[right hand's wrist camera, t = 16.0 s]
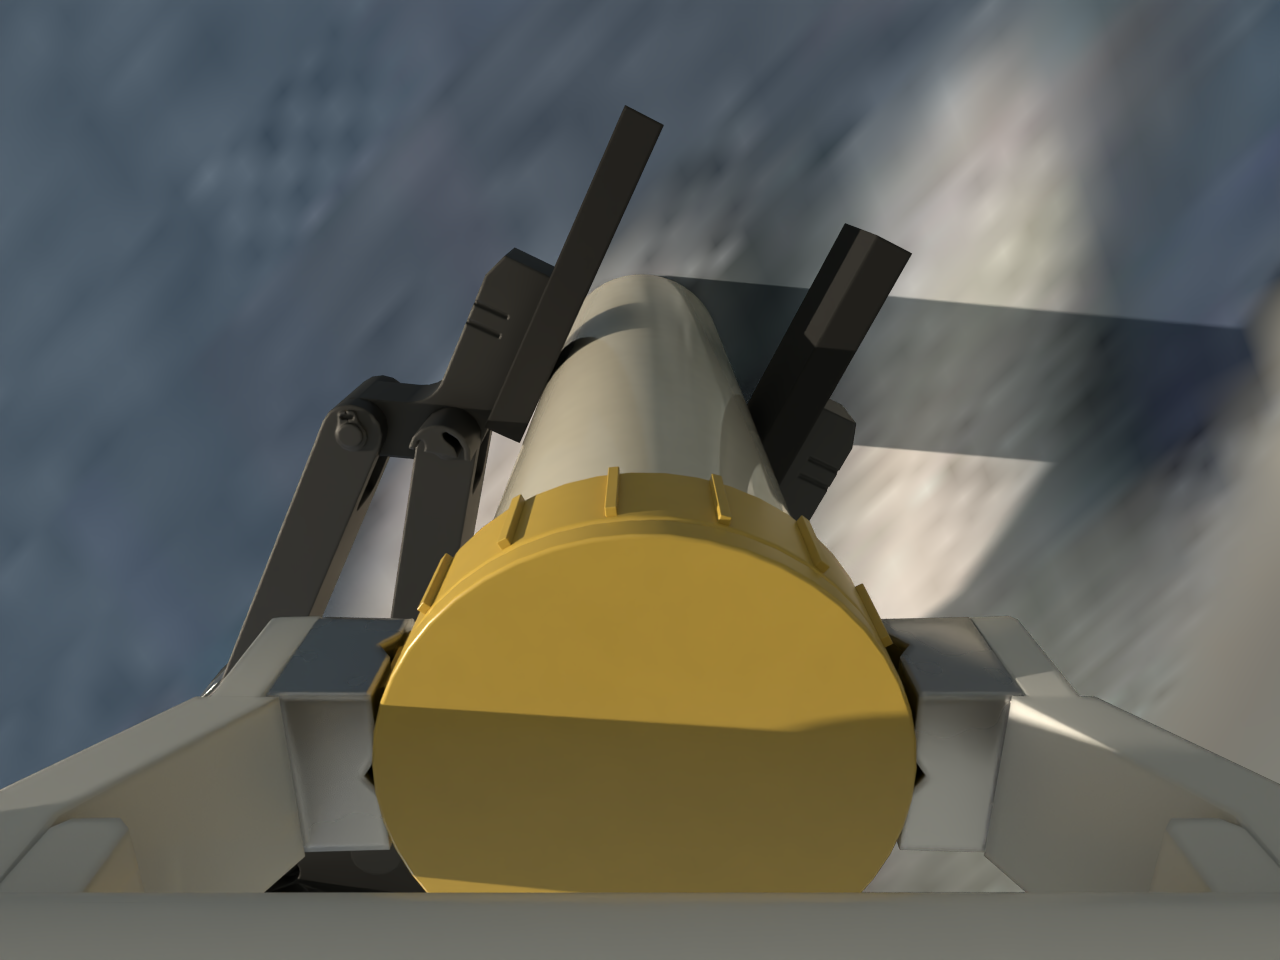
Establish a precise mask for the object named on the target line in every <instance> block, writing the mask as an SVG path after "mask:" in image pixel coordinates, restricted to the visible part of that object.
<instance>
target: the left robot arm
mask: <svg viewBox="0 0 1280 960" xmlns="http://www.w3.org/2000/svg"><path fill="white" fill-rule="evenodd" d="M663 126H664V125H663V124H661V123H659V122H657V121H655V120H653V119H651V118H649V117H647V116H645V115H643V114H641V113H639V112H637V111H636V110H634V109H632V108H630V107H628V106H626V105H625V107H624V109H623V111H622V113H621V116H620V118H619V120H618V123H617V125H616V127H615V129H614V132H613V134H612V136H611V139H610V141H609V143H608V146H607V148H606V150H605V152H604V155H603V157H602V159H601V162H600V164H599V166H598V168H597V171H596V173H595V175H594V178H593V180H592V182H591V185H590V187H589V189H588V191H587V194H586V196H585V198H584V201H583V203H582V205H581V207H580V210H579V212H578V214H577V217H576V219H575V221H574V223H573V226H572V228H571V230H570V233H569V235H568V237H567V240H566V242H565V244H564V246H563V249H562V251H561V253H560V256H559V258H558V260H557V262H556V265H555V267H554V266H552V265H550V264H548V263H546V262H544V261H542V260H540V259H538V258H535V257H533V256H531V255H529V254H527V253H525V252H523V251H521V250H519V249H517V248H514V249H512V250H511V251H510V252H509V253H508V254H506V255H505V256H504V257H503V258H502V259H501V260H500V261H499V262H498V263H497V264H496V265H495V266H494V267H493V268H492V269H491V270H490V271H489V272H488V273H487V274H486V275H485V278H484V280H483V283H482V285H481V288H480V290H479V292H478V295H477V297H476V300H475V303H474V305H473V307H472V309H471V312H470V314H469V317H468V320H467V322H466V324H465V326H464V329H463V331H462V334H461V336H460V339H459V341H458V344H457V346H456V348H455V351H454V353H453V356H452V358H451V361H450V363H449V365H448V368H447V370H446V373H445V375H444V378H443V380H441V381H439V382H437V383H434V384H430V385H415V384H405V383H400V382H398V381H397V380H396V379H394V378H391V377H387V376H384V375H382V376H374V377H371V378H370V379H368V380H366V381H365V382H363V383H362V384H361V385H360V386H359V387H357V388H356V389H355V390H354V391H353V392H352V393H350V394H349V395H348V396H347V397H346V398H345V399H344V400H342V401H341V402H340V403H339V404H338V405H337V406H335V407H334V408H333V409H332V410H331V411H330V412H329V413H328V414H327V416H326V417H325V419H324V420H323V422H322V425H321V428H320V430H319V433H318V435H317V438H316V440H315V443H314V445H313V448H312V451H311V453H310V456H309V458H308V461H307V463H306V466H305V468H304V471H303V473H302V476H301V479H300V481H299V484H298V486H297V489H296V491H295V494H294V496H293V499H292V502H291V504H290V507H289V509H288V512H287V514H286V517H285V519H284V522H283V524H282V527H281V530H280V532H279V535H278V537H277V540H276V542H275V545H274V547H273V550H272V553H271V555H270V558H269V560H268V563H267V565H266V568H265V570H264V573H263V575H262V578H261V581H260V583H259V586H258V588H257V591H256V593H255V596H254V598H253V601H252V604H251V606H250V609H249V611H248V614H247V616H246V619H245V621H244V624H243V627H242V629H241V632H240V634H239V637H238V639H237V642H236V644H235V647H234V649H233V652H232V655H231V657H230V660H229V662H228V664H227V665H226V666H225V667H224V668H223V669H221V670H220V672H219V673H218V674H217V676H216V677H215V678H214V679H213V681H212V682H211V683H210V684H209V686H208V687H207V688H206V689H205V691H204V692H203V693H202V694H201V696H200V697H210V696H211V695H212V694H213V693H214V691H215V690H216V689H217V687H218V686H219V685H220V684H221V682H222V681H223V680H224V679H225V677H226V676H227V675H228V674H229V672H230V671H231V670H232V668H233V667H234V666H235V665H236V663H237V662H238V661H239V660H240V658H241V657H242V656H243V654H244V653H245V652H246V651H247V649H248V648H249V647H250V646H251V644H252V643H253V642H254V640H255V639H256V638H257V637H258V635H259V634H260V633H261V632H262V630H263V629H264V628H265V627H266V625H267V624H268V623H269V621H270V620H271V619H273V618H279V617H305V616H321V617H322V616H323V613H324V611H325V609H326V606H327V604H328V602H329V599H330V597H331V594H332V592H333V590H334V587H335V585H336V583H337V580H338V578H339V576H340V573H341V571H342V569H343V566H344V564H345V562H346V559H347V557H348V555H349V552H350V550H351V547H352V545H353V543H354V540H355V538H356V536H357V533H358V531H359V529H360V526H361V524H362V522H363V519H364V517H365V515H366V512H367V510H368V508H369V505H370V503H371V500H372V498H373V496H374V493H375V491H376V489H377V486H378V484H379V482H380V479H381V477H382V475H383V472H384V470H385V468H386V465H387V463H388V461H389V458H390V457H399V458H410V459H414V463H413V470H412V477H411V484H410V490H409V497H408V504H407V511H406V518H405V524H404V531H403V538H402V545H401V551H400V558H399V565H398V572H397V579H396V585H395V592H394V599H393V606H392V613H391V618H400V619H414V621H415V622H416V620H417V617H418V615H419V613H420V611H418V610H417V609H418V607H419V605H420V602H421V600H422V598H423V596H424V594H425V592H426V590H427V588H428V586H429V583H430V581H431V579H432V577H433V575H434V573H435V571H436V569H437V567H438V565H439V562H440V560H441V559H442V557H443V556H444V555H445V554H446V553H447V554H449V555H450V556H452V557H454V556H455V554H456V553H457V552H458V550H459V549H460V548H461V547H462V546H463V545H464V544H465V543H467V542H468V541H469V540H470V539H471V538H472V537H473V536H474V530H475V525H476V519H477V513H478V508H479V502H480V496H481V491H482V485H483V480H484V474H485V468H486V463H487V457H488V451H489V446H490V440H491V435H492V431H494V432H496V433H498V434H501V435H503V436H505V437H507V438H510V439H512V440H514V441H516V442H519V443H520V441H521V439H522V437H523V435H524V432H525V430H526V428H527V426H528V423H529V421H530V419H531V417H532V415H533V412H534V410H535V408H536V406H537V404H538V401H539V399H540V397H541V395H542V393H543V390H544V388H545V386H546V384H547V382H548V379H549V377H550V375H551V373H552V371H553V368H554V366H555V364H556V362H557V360H558V357H559V355H560V353H561V351H562V349H563V346H564V344H565V342H566V340H567V337H568V335H569V333H570V331H571V329H572V326H573V324H574V322H575V320H576V318H577V315H578V313H579V311H580V309H581V307H582V304H583V302H584V300H585V298H586V296H587V293H588V291H589V289H590V287H591V285H592V282H593V280H594V278H595V276H596V274H597V271H598V269H599V267H600V265H601V263H602V260H603V258H604V256H605V254H606V251H607V249H608V247H609V245H610V243H611V240H612V238H613V236H614V234H615V232H616V229H617V227H618V225H619V223H620V221H621V218H622V216H623V214H624V212H625V210H626V207H627V205H628V203H629V201H630V199H631V196H632V194H633V192H634V190H635V188H636V185H637V183H638V181H639V179H640V177H641V174H642V172H643V170H644V168H645V165H646V163H647V161H648V159H649V157H650V154H651V152H652V150H653V148H654V146H655V143H656V141H657V139H658V137H659V135H660V132H661V130H662V128H663ZM911 255H912V253H910V252H908V251H906V250H904V249H902V248H901V247H899V246H897V245H895V244H893V243H891V242H889V241H887V240H885V239H883V238H881V237H879V236H877V235H875V234H872V233H870V232H867V231H864V230H862V229H859V228H856V227H854V226H851V225H848V224H846V223H845V224H844V226H843V228H842V230H841V232H840V234H839V235H838V237H837V239H836V241H835V243H834V245H833V247H832V248H831V250H830V252H829V254H828V256H827V258H826V260H825V261H824V263H823V265H822V267H821V269H820V271H819V273H818V274H817V276H816V278H815V280H814V282H813V284H812V285H811V287H810V289H809V291H808V293H807V295H806V297H805V298H804V300H803V302H802V304H801V306H800V308H799V310H798V311H797V313H796V315H795V317H794V319H793V321H792V323H791V324H790V326H789V328H788V330H787V332H786V334H785V336H784V337H783V339H782V341H781V343H780V345H779V347H778V349H777V350H776V352H775V354H774V356H773V358H772V360H771V362H770V363H769V365H768V367H767V369H766V371H765V373H764V374H763V376H762V378H761V380H760V382H759V384H758V386H757V387H756V389H755V391H754V393H753V395H752V397H751V399H750V400H749V402H748V404H747V407H748V409H749V412H750V414H751V417H752V419H753V422H754V424H755V427H756V429H757V432H758V434H759V437H760V439H761V442H762V444H763V447H764V449H765V452H766V454H767V457H768V459H769V462H770V464H771V467H772V469H773V472H774V474H775V477H776V479H777V482H778V484H779V487H780V489H781V492H782V494H783V497H784V499H785V502H786V504H787V507H788V509H789V512H790V514H791V517H792V518H793V519H795V520H796V521H797V520H798V519H799V518H800V517H801V516H804V517H805V518H806V519H808V520H810V519H811V517H812V515H813V514H814V512H815V510H816V509H817V507H818V505H819V504H820V502H821V500H822V498H823V497H824V495H825V493H826V492H827V489H828V487H830V485H831V483H832V482H833V480H834V478H835V477H836V475H837V472H838V470H840V468H841V466H842V465H843V463H844V461H845V460H846V458H847V456H848V455H849V453H850V451H851V450H852V446H853V440H854V434H855V427H856V423H855V421H854V420H853V419H852V418H851V416H850V415H849V414H848V412H847V411H846V410H845V409H844V407H843V406H842V405H841V404H839V403H837V402H835V401H833V400H831V399H829V398H830V396H831V395H832V393H833V391H834V389H835V388H836V386H837V384H838V382H839V381H840V379H841V377H842V375H843V374H844V372H845V370H846V368H847V367H848V365H849V363H850V361H851V360H852V358H853V356H854V354H855V353H856V351H857V349H858V347H859V346H860V344H861V342H862V340H863V339H864V337H865V335H866V333H867V332H868V330H869V328H870V326H871V325H872V323H873V321H874V319H875V318H876V316H877V314H878V312H879V311H880V309H881V307H882V305H883V304H884V302H885V300H886V298H887V297H888V295H889V293H890V291H891V290H892V288H893V286H894V284H895V283H896V281H897V279H898V277H899V276H900V274H901V272H902V270H903V269H904V267H905V265H906V263H907V262H908V260H909V258H910V256H911ZM264 893H427V892H426V891H425V890H424V889H423V887H422V886H421V885H420V884H419V883H418V881H417V880H416V879H415V878H414V877H413V875H412V874H411V873H410V871H409V870H408V868H407V867H406V865H405V863H404V862H403V860H402V859H401V857H400V855H399V854H398V852H397V851H396V849H395V847H394V845H393V843H392V845H391V847H390V850H357V851H322V852H305V857H304V858H303V859H302V860H300V861H299V862H298V863H297V864H296V865H295V866H294V867H292V868H291V869H290V870H289V871H288V872H287V873H286V874H284V875H283V876H282V877H281V878H280V879H279V880H278V881H277V882H275V883H274V884H273V885H272V886H271V887H270V888H269V889H267V890H266V891H265V892H264Z"/></svg>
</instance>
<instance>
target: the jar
mask: <svg viewBox="0 0 1280 960" xmlns="http://www.w3.org/2000/svg"><path fill="white" fill-rule="evenodd" d="M617 466H618V467H619V469H620V474H622V473H631V472H632V473H669V474H676V475H683V476H690V477H698V478H702V479H705V480H710V477H711V474H716V475H720V476H722V479H723V484H724V485H728V486H731V487H733V488H736V489H738V490H741V491H743V492H746V493H748V494H750V495H753V496H755V497H758V498H760V499H762V500H764V501H765V502H767V503H769V504H771V505H772V506H774V507H776V508H778V509H779V510H781V511H783V512H785V513H786V514H788V515H789V516H791V514H790V512H789V509H788V507H787V504H786V502H785V499H784V497H783V494H782V492H781V489H780V487H779V484H778V482H777V479H776V477H775V474H774V472H773V469H772V467H771V464H770V462H769V459H768V457H767V454H766V452H765V449H764V447H763V444H762V442H761V439H760V437H759V434H758V432H757V429H756V427H755V424H754V422H753V419H752V417H751V414H750V412H749V409H748V407H747V404H746V402H745V399H744V397H743V394H742V392H741V389H740V387H739V384H738V382H737V379H736V377H735V374H734V372H733V369H732V367H731V364H730V362H729V359H728V357H727V354H726V352H725V349H724V347H723V344H722V342H721V339H720V337H719V334H718V332H717V329H716V327H715V324H714V322H713V320H712V317H711V315H710V314H709V312H708V310H707V309H706V307H705V306H704V305H703V303H702V302H701V301H700V300H699V299H698V298H697V297H696V296H695V295H694V294H693V293H692V292H690V291H689V290H688V289H686V288H685V287H684V286H682V285H680V284H678V283H676V282H674V281H672V280H669V279H667V278H663V277H659V276H655V275H645V274H643V275H629V276H623V277H620V278H617V279H614V280H611V281H609V282H607V283H605V284H603V285H601V286H600V287H598V288H597V289H595V290H594V291H593V292H592V293H590V294H589V295H588V296H587V297H586V298H585V300H584V302H583V304H582V307H581V309H580V311H579V313H578V315H577V318H576V320H575V322H574V324H573V326H572V329H571V331H570V333H569V335H568V337H567V340H566V342H565V344H564V346H563V349H562V351H561V353H560V355H559V357H558V360H557V362H556V364H555V366H554V368H553V371H552V373H551V375H550V377H549V379H548V382H547V384H546V386H545V388H544V390H543V393H542V395H541V397H540V400H539V403H538V405H537V408H536V410H535V413H534V416H533V418H532V421H531V423H530V426H529V429H528V431H527V434H526V436H525V439H524V442H523V444H522V447H521V449H520V452H519V455H518V457H517V460H516V462H515V465H514V468H513V470H512V473H511V475H510V478H509V481H508V483H507V486H506V489H505V491H504V494H503V496H502V499H501V502H500V504H499V507H498V509H497V512H496V515H495V517H494V519H495V518H497V517H498V516H499V515H501V514H502V513H504V512H505V511H506V510H508V509H509V506H510V504H511V501H512V499H513V498H514V497H516V496H518V495H520V494H521V495H522V496H523V498H524V499H525V500H527V499H529V498H531V497H533V496H535V495H537V494H540V493H542V492H545V491H548V490H550V489H553V488H556V487H558V486H561V485H564V484H567V483H571V482H575V481H580V480H584V479H588V478H592V477H596V476H604V475H608V468H609V467H617Z"/></svg>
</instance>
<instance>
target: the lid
mask: <svg viewBox="0 0 1280 960" xmlns="http://www.w3.org/2000/svg"><path fill="white" fill-rule="evenodd" d="M417 610H418V611H420V613H419V615H418V617H417V620H416V622H415V624H414V626H413V628H412V630H411V631H410V632H409V634H408V636H407V638H406V640H405V643H404V645H403V646H401V647H399V648H398V650H397V652H396V654H395V656H394V658H393V661H392V663H391V672H390V674H389V677H388V679H387V681H386V683H385V685H384V694H383V696H382V699H381V701H380V704H379V709H378V714H377V718H376V723H375V728H374V732H373V751H372V768H373V777H374V786H375V793H376V797H377V801H378V804H379V808H380V812H381V815H382V819H383V822H384V824H385V827H386V829H387V831H388V834H389V836H390V838H391V840H392V843H393V845H394V847H395V849H396V851H397V852H398V854H399V855H400V857H401V859H402V860H403V862H404V863H405V865H406V867H407V868H408V870H409V871H410V873H411V874H412V875H413V877H414V878H415V879H416V880H417V881H418V883H419V884H420V885H421V886H422V887H423V889H424V890H425V891H426V892H427V893H861V892H862V891H863V890H864V889H865V888H866V887H867V886H868V884H869V883H870V882H871V881H872V880H873V879H874V877H875V876H876V874H877V873H878V871H879V870H880V869H881V867H882V866H883V864H884V863H885V861H886V860H887V858H888V857H889V855H890V854H891V852H892V849H893V847H894V845H895V843H896V841H897V839H898V837H899V835H900V833H901V831H902V829H903V826H904V823H905V820H906V817H907V814H908V811H909V807H910V804H911V801H912V796H913V790H914V783H915V777H916V770H917V754H916V735H915V729H914V723H913V717H912V711H911V708H910V705H909V702H908V699H907V696H906V693H905V690H904V687H903V684H902V681H901V679H900V677H899V675H898V673H897V671H896V669H895V667H894V665H893V663H892V661H891V659H890V657H889V654H888V652H887V650H886V648H885V647H887V646H889V645H891V644H893V642H892V640H891V638H890V636H889V634H888V632H887V630H886V628H885V626H884V624H883V622H882V620H881V618H880V616H879V614H878V612H877V610H876V608H875V606H874V604H873V602H872V601H871V599H870V597H869V595H868V593H867V591H866V589H865V587H864V585H863V584H860V585H858V586H856V587H855V586H854V584H853V582H852V580H851V578H850V577H849V575H848V574H847V573H846V571H845V570H844V568H843V567H842V566H841V564H840V563H839V562H838V560H837V559H836V558H835V556H834V555H833V554H832V553H831V552H830V551H829V550H828V549H827V548H826V547H825V546H824V545H823V544H822V543H821V542H820V540H819V539H818V538H817V537H816V535H815V533H814V530H813V528H812V526H811V524H810V521H809V520H808V519H806V518H805V517H804V516H801V517H800V518H799V519H798V520H797V521H796V520H795V519H793V518H792V517H791V516H789V515H788V514H786V513H785V512H783V511H781V510H779V509H778V508H776V507H774V506H772V505H771V504H769V503H767V502H765V501H764V500H762V499H760V498H758V497H755V496H753V495H750V494H748V493H746V492H743V491H741V490H738V489H736V488H733V487H731V486H728V485H724V484H723V479H722V476H720V475H716V474H711V477H710V480H705V479H702V478H698V477H690V476H683V475H676V474H669V473H632V472H631V473H622V474H620V469H619V467H618V466H617V467H609V468H608V475H604V476H596V477H592V478H588V479H584V480H580V481H575V482H571V483H567V484H564V485H561V486H558V487H556V488H553V489H550V490H548V491H545V492H542V493H540V494H537V495H535V496H533V497H531V498H529V499H527V500H525V499H524V498H523V496H522V495H521V494H520V495H518V496H516V497H514V498H513V499H512V501H511V504H510V506H509V509H508V510H506V511H505V512H504V513H502V514H501V515H499V516H498V517H497V518H495V519H494V520H492V521H491V522H490V523H488V524H487V525H485V526H484V527H483V528H481V529H480V530H479V531H478V532H477V533H476V534H475V535H474V536H473V537H472V538H471V539H470V540H469V541H468V542H467V543H465V544H464V545H463V546H462V547H461V548H460V549H459V550H458V552H457V553H456V554H455V556H454V557H452V556H450V555H449V554H447V553H446V554H445V555H444V556H443V557H442V559H441V560H440V562H439V565H438V567H437V569H436V571H435V573H434V575H433V577H432V579H431V581H430V583H429V586H428V588H427V590H426V592H425V594H424V596H423V598H422V600H421V602H420V605H419V607H418V609H417Z"/></svg>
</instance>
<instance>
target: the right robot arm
mask: <svg viewBox="0 0 1280 960" xmlns="http://www.w3.org/2000/svg"><path fill="white" fill-rule="evenodd" d="M881 620H882V622H883V624H884V626H885V628H886V630H887V632H888V634H889V636H890V638H891V640H892V642H893V644H891V645H889V646H887V647H885V648H886V650H887V652H888V654H889V657H890V659H891V661H892V663H893V665H894V667H895V669H896V671H897V673H898V675H899V677H900V679H901V681H902V684H903V687H904V690H905V693H906V696H907V699H908V702H909V705H910V708H911V711H912V717H913V723H914V729H915V735H916V754H917V770H916V777H915V783H914V790H913V796H912V801H911V804H910V807H909V811H908V814H907V817H906V820H905V823H904V826H903V829H902V831H901V833H900V835H899V837H898V839H897V843H898V846H899V848H900V850H931V851H967V852H985V854H984V856H985V857H986V858H987V859H989V860H990V861H991V862H992V863H993V864H994V865H995V866H997V867H998V868H999V869H1000V870H1001V871H1002V872H1004V873H1005V874H1006V875H1007V876H1008V877H1009V878H1010V879H1012V880H1013V881H1014V882H1015V883H1016V884H1017V885H1018V886H1020V887H1021V888H1022V889H1023V890H1024V891H1025V892H1004V893H264V892H265V891H266V890H267V889H269V888H270V887H271V886H272V885H273V884H274V883H275V882H277V881H278V880H279V879H280V878H281V877H282V876H283V875H284V874H286V873H287V872H288V871H289V870H290V869H291V868H292V867H294V866H295V865H296V864H297V863H298V862H299V861H300V860H302V859H303V858H304V857H305V852H322V851H357V850H390V847H391V845H392V840H391V838H390V836H389V834H388V831H387V829H386V827H385V824H384V822H383V819H382V815H381V812H380V808H379V804H378V801H377V797H376V793H375V786H374V777H373V768H372V751H373V732H374V728H375V723H376V718H377V714H378V709H379V704H380V701H381V699H382V696H383V694H384V685H385V683H386V681H387V679H388V677H389V674H390V672H391V663H392V661H393V658H394V656H395V654H396V652H397V650H398V648H399V647H401V646H403V645H404V643H405V640H406V638H407V636H408V634H409V632H410V631H411V630H412V628H413V626H414V624H415V621H414V619H400V618H346V617H325V618H322V617H321V616H305V617H279V618H273V619H271V620H270V621H269V623H268V624H267V625H266V627H265V628H264V629H263V630H262V632H261V633H260V634H259V635H258V637H257V638H256V639H255V640H254V642H253V643H252V644H251V646H250V647H249V648H248V649H247V651H246V652H245V653H244V654H243V656H242V657H241V658H240V660H239V661H238V662H237V663H236V665H235V666H234V667H233V668H232V670H231V671H230V672H229V674H228V675H227V676H226V677H225V679H224V680H223V681H222V682H221V684H220V685H219V686H218V687H217V689H216V690H215V691H214V693H213V694H212V695H211V696H210V697H194V698H192V699H190V700H188V701H185V702H183V703H181V704H179V705H177V706H175V707H173V708H171V709H169V710H167V711H164V712H162V713H160V714H158V715H156V716H154V717H152V718H150V719H148V720H146V721H143V722H141V723H139V724H137V725H135V726H133V727H131V728H129V729H127V730H125V731H122V732H120V733H118V734H116V735H114V736H112V737H110V738H108V739H106V740H104V741H102V742H99V743H97V744H95V745H93V746H91V747H89V748H87V749H85V750H83V751H81V752H78V753H76V754H74V755H72V756H70V757H68V758H66V759H64V760H62V761H60V762H57V763H55V764H53V765H51V766H49V767H47V768H45V769H43V770H41V771H39V772H36V773H34V774H32V775H30V776H28V777H26V778H24V779H22V780H20V781H18V782H15V783H13V784H11V785H9V786H7V787H5V788H3V789H1V790H0V960H1280V784H1278V783H1276V782H1274V781H1272V780H1270V779H1268V778H1266V777H1264V776H1261V775H1259V774H1257V773H1255V772H1253V771H1251V770H1249V769H1247V768H1244V767H1242V766H1240V765H1238V764H1236V763H1234V762H1232V761H1230V760H1228V759H1225V758H1223V757H1221V756H1219V755H1217V754H1215V753H1213V752H1211V751H1209V750H1206V749H1204V748H1202V747H1200V746H1198V745H1196V744H1194V743H1192V742H1190V741H1187V740H1185V739H1183V738H1181V737H1179V736H1177V735H1175V734H1173V733H1171V732H1168V731H1166V730H1164V729H1162V728H1160V727H1158V726H1156V725H1154V724H1152V723H1149V722H1147V721H1145V720H1143V719H1141V718H1139V717H1137V716H1135V715H1132V714H1130V713H1128V712H1126V711H1124V710H1122V709H1120V708H1118V707H1116V706H1113V705H1111V704H1109V703H1107V702H1105V701H1103V700H1101V699H1099V698H1097V697H1080V696H1079V695H1078V694H1077V692H1076V691H1075V690H1074V689H1073V687H1072V686H1071V685H1070V684H1069V682H1068V681H1067V680H1066V679H1065V678H1064V676H1063V675H1062V674H1061V673H1060V671H1059V670H1058V669H1057V668H1056V666H1055V665H1054V664H1053V663H1052V661H1051V660H1050V659H1049V658H1048V657H1047V655H1046V654H1045V653H1044V652H1043V650H1042V649H1041V648H1040V647H1039V645H1038V644H1037V643H1036V642H1035V640H1034V639H1033V638H1032V637H1031V636H1030V634H1029V633H1028V632H1027V631H1026V629H1025V628H1024V627H1023V626H1022V624H1021V623H1020V622H1019V621H1018V620H1017V619H1015V618H1012V617H1010V616H995V617H973V618H969V617H948V618H906V619H881Z"/></svg>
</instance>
